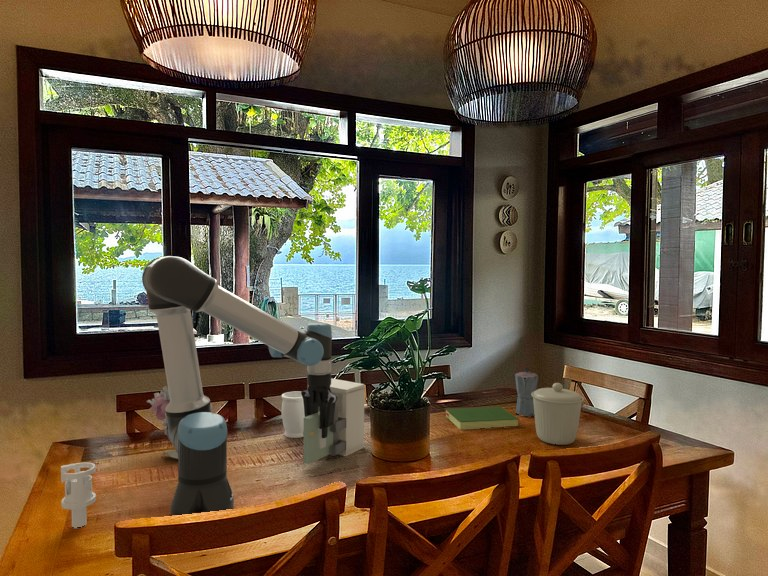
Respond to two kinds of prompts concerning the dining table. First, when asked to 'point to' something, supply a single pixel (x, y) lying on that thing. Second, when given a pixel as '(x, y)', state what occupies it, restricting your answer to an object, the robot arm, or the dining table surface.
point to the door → (311, 438)
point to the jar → (293, 414)
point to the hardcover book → (480, 417)
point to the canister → (557, 414)
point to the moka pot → (525, 392)
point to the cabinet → (348, 416)
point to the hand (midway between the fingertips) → (318, 446)
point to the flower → (162, 412)
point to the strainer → (78, 491)
